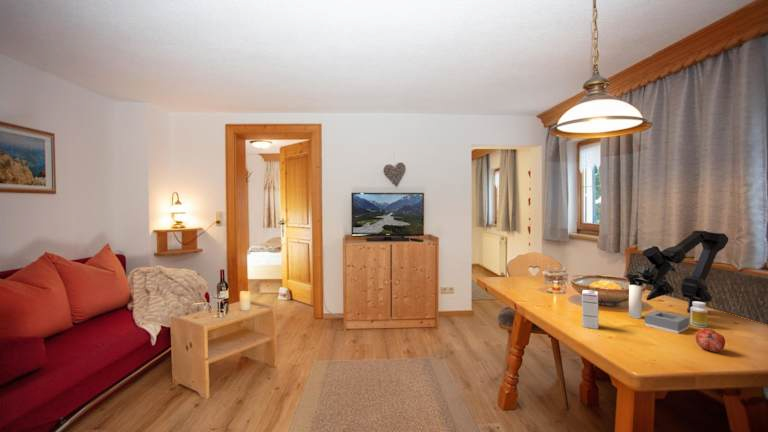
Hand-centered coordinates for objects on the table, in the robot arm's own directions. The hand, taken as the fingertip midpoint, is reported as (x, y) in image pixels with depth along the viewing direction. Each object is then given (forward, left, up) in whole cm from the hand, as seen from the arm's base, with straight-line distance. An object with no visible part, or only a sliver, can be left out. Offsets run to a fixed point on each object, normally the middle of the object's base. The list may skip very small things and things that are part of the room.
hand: (637, 296), depth 151 cm
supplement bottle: (-2, +20, -9) cm, 22 cm away
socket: (+8, +10, -9) cm, 16 cm away
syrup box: (+27, -14, -9) cm, 32 cm away
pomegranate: (+27, +22, -9) cm, 36 cm away
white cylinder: (+1, -1, -9) cm, 9 cm away
